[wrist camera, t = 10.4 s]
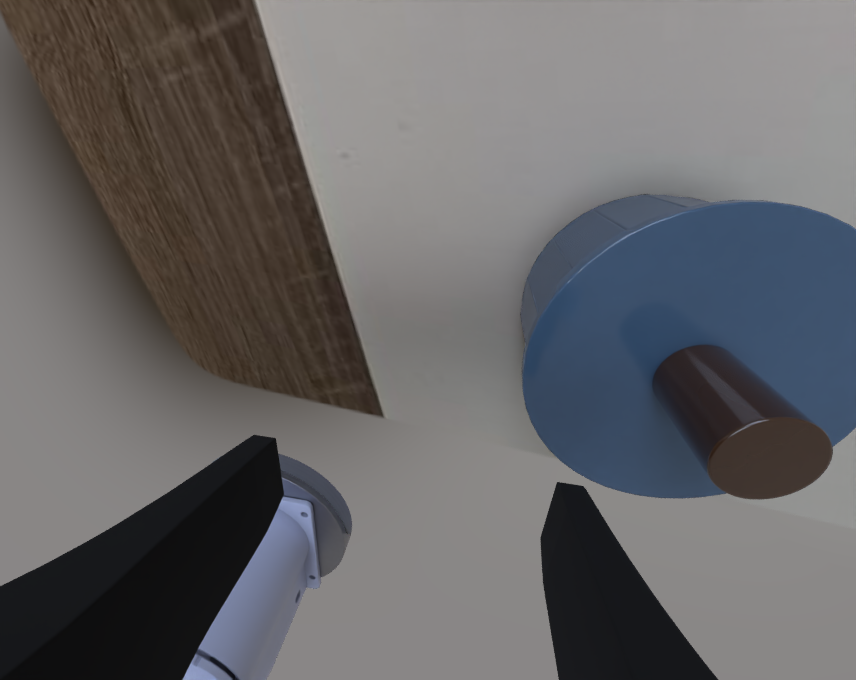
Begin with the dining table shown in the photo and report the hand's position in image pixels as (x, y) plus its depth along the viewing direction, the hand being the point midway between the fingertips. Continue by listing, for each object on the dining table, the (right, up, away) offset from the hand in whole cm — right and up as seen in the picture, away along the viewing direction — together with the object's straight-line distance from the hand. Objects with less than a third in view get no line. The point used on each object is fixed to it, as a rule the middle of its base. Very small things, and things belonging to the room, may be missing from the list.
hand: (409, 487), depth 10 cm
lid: (+9, +3, +2) cm, 9 cm away
